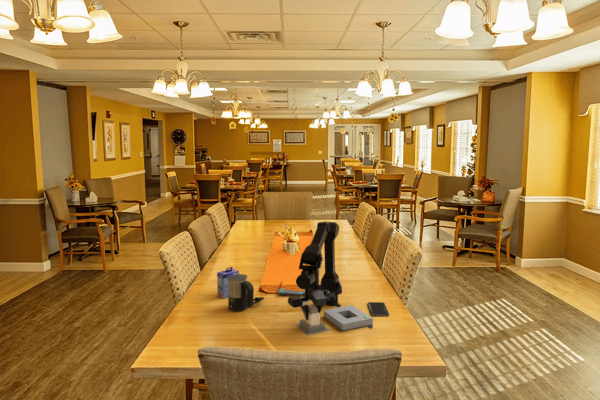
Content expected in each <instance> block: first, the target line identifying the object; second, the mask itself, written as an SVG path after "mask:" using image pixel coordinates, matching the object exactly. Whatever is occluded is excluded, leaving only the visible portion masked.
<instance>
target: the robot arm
mask: <svg viewBox="0 0 600 400" xmlns="http://www.w3.org/2000/svg"><path fill="white" fill-rule="evenodd" d="M339 231H340V225H339V223H337V222H336V221H320V222H317V225H316V230H315V233H314V235H313V237H312V239H311V242H310V244H309V245H307V246H306V247H304V251H302V252H301V256H300V260H299V266H298V270H301V272H300V274H299V275H298V276H297V277H296V278H295V280H296V284H297V286H298V287H299V288H300V289H305V292H304V293H303V295H304V296H305V297H299V296H297V295H296V296H288V298H287V304H288V305H290V306H291V307H292V308H300V309H301V311H302V313H303V317H304V316H305V318H306V320H308V307H309V306H308V305H309V304H308V302H312V305H314V306H316V307H317V308H318V312H319V313H320V314H321V311H322V309H323V307H324V306H325V305H327V306H330V307H336V308H340V307H342V305H341V304H340V303H339V295H341V294H342V293H343V286H342V283H341V282H340V277H339V274H338V273H337V272H336V248H335V247H336V246H335V245H336V244H335V241H336V239H337V237H338V235H339ZM323 245H324V246H323ZM322 248H324V249H323V250H324V251H323V252H324V258H323V253H322ZM323 259H324V273H323V276H322V278H321V279H320V269H321V268H322V267H321V266H322V264H323Z"/></svg>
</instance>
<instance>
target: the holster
mask: <svg viewBox="0 0 600 400" xmlns="http://www.w3.org/2000/svg"><path fill="white" fill-rule="evenodd" d="M294 325H295V326H296V327H297V328H298V329H300V331H302V332H303V333H304V334H305V335H306V336H312V335H317V334H321V333H325V332H330V329H329V328H328V327H326V326H325V324H324V323H323V322H321V321H320V325H317V326H312V327H310V326H308V325H307V324H306V323H305V322H304V318H303V319H299V322H298V323H294Z"/></svg>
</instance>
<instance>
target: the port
mask: <svg viewBox="0 0 600 400" xmlns="http://www.w3.org/2000/svg"><path fill="white" fill-rule="evenodd" d="M323 318H324V319H325V320H326V321H328V322H329V323H331V324H332V325H334V326H335V327H336V328H337V329H339V331H341V332H348V331H352V330H353V331H354V330H358V329H361V328H368V329H372V328H373V325H374V323H373V321H374V318H373V316H371V315H370V314H369V315H368V314H367V313H366V312H363V310H360V309H359V308H357V307H356V306H354V305H353V304H351V305H346V306H339V307H336V308H331V309H324V310H323Z"/></svg>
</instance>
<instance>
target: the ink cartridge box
mask: <svg viewBox="0 0 600 400" xmlns="http://www.w3.org/2000/svg"><path fill="white" fill-rule="evenodd" d="M233 274H240V273H239V270H238V269H235V268H234V267H233V266H230V267H227V268H226V269H225V270H221V271H219V272H217V273H216V278H217V280H216V281H217V282H216V283H217V288H216V289H217V297H219V298H221V299H223V300H224V299H227V297H228V280H227V276H229V275H233Z"/></svg>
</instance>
